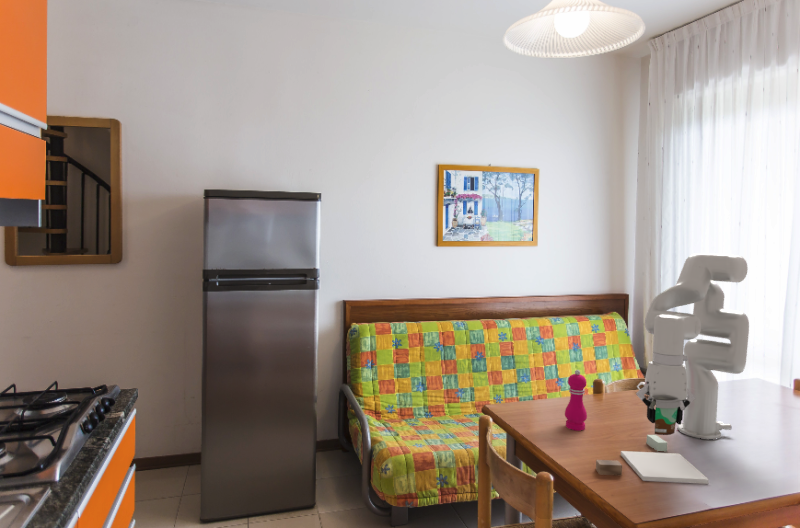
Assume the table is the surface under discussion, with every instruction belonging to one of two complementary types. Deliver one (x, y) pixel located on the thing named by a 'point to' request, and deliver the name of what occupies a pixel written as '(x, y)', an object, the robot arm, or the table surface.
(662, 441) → the sage block
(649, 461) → the platter
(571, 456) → the table surface
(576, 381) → the pepper mill
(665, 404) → the food container
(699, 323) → the robot arm
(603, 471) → the walnut block
